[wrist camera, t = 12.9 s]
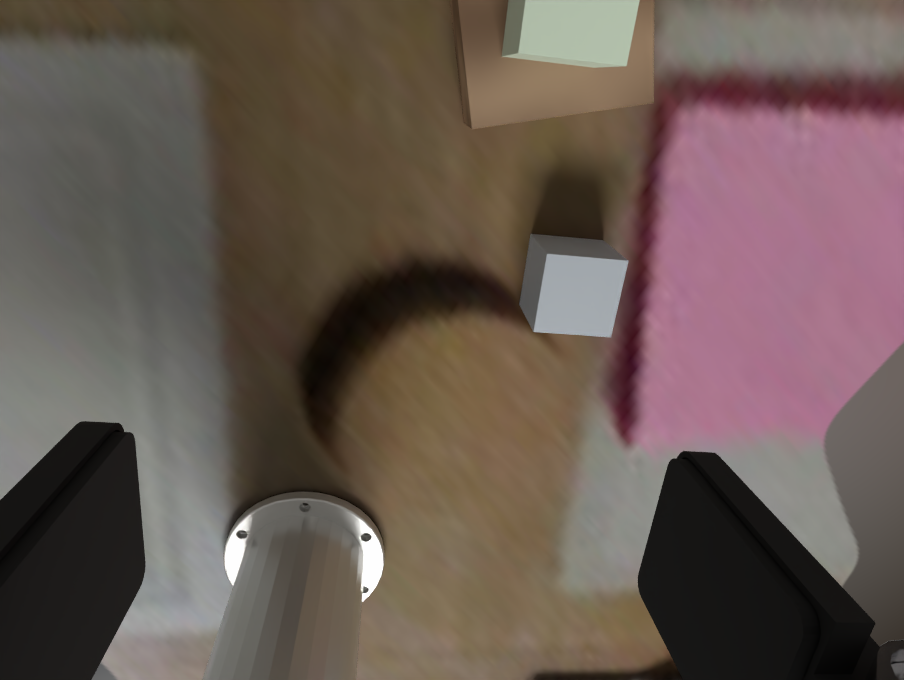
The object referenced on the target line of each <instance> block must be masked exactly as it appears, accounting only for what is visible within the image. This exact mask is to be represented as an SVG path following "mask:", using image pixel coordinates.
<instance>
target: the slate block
mask: <svg viewBox="0 0 904 680" xmlns="http://www.w3.org/2000/svg"><path fill="white" fill-rule="evenodd" d="M627 265H628V260H627V259H626V258H624V257H623V256H622V255H621V254H619V253H618V252H617V251H616V250H615V249H613V248H612V247H611V246H610V245H608V244H607V243H606V242H605V241H604V240H595V239H584V238H573V237H562V236H550V235H539V234H531V235H530V241H529V247H528V253H527V260H526V266H525V272H524V278H523V285H522V291H521V297H520V303H519V305H520V307H521V309H522V310H523V312H524V314H525V316H526V318H527V320H528V322H529V324H530V326H531V328H532V330H533V332H543V333H558V334H572V335H586V336H600V337H611V334H612V330H613V326H614V321H615V317H616V313H617V308H618V304H619V300H620V295H621V291H622V286H623V282H624V278H625V273H626V269H627Z"/></svg>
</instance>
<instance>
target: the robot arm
mask: <svg viewBox="0 0 904 680" xmlns="http://www.w3.org/2000/svg"><path fill="white" fill-rule="evenodd" d="M224 567H225V570H226V574H227V577H228V579H229V581H230V582H231V584H232V586H233V588H232V591H231V594H230V597H229V600H228V603H227V606H226V609H225V612H224V615H223V618H222V621H221V624H220V627H219V630H218V633H217V636H216V639H215V642H214V645H213V648H212V651H211V655H210V658H209V661H208V664H207V667H206V670H205V673H204V676H203V679H202V680H356V675H357V662H358V648H359V635H360V622H361V608H362V602H363V601H364V600H365V599H366V598H367V597H368V596H369V595H370V594H371V593H372V592H373V590H374V589H375V588H376V586H377V585H378V583H379V580H380V578H381V576H382V572H383V567H384V545H383V540H382V537H381V535H380V533H379V531H378V528H377V527H376V526H375V524H374V523H373V522H372V520H371V519H370V518H369V517H368V516H367V515H366V514H365V513H364V512H363V511H361V510H360V509H359V508H357V507H356V506H354V505H352V504H351V503H349V502H347V501H345V500H342V499H340V498H337V497H335V496H331V495H327V494H322V493H317V492H291V493H284V494H280V495H276V496H272V497H270V498H267V499H265V500H263V501H261V502H258V503H257V504H255V505H254V506H252V507H251V508H249V509H248V510H246V511H245V512H244V513H243V514H242V515H241V517H240V518H239V519H238V520H237V521H236V523H235V524H234V526H233V527H232V529H231V531H230V534H229V536H228V539H227V541H226V544H225V550H224ZM144 573H145V553H144V541H143V529H142V517H141V505H140V494H139V482H138V470H137V458H136V446H135V438H134V436H133V434H132V433H131V432H124V429H123V427H122V425H121V424H119V423H106V422H86V421H83V422H79V423H78V424H76V425H75V426H74V427H73V428H72V429H71V430H70V431H69V432H68V433H67V434H66V435H65V436H64V437H63V438H62V439H61V440H60V441H59V442H58V443H57V444H56V445H55V446H54V447H53V448H52V449H51V450H50V451H49V452H48V453H47V454H46V455H45V456H44V457H43V458H42V459H41V460H40V461H39V462H38V463H37V464H36V465H35V466H34V467H33V468H32V469H31V470H30V471H29V472H28V473H27V474H26V475H25V476H24V477H23V478H22V479H21V480H20V481H19V482H18V483H17V484H16V485H15V486H14V487H13V488H12V489H11V490H10V491H9V492H8V493H7V494H6V495H5V496H4V497H3V498H2V499H1V500H0V680H91V679H92V677H93V675H94V674H95V672H96V670H97V668H98V666H99V664H100V662H101V660H102V659H103V657H104V655H105V653H106V651H107V649H108V647H109V645H110V643H111V642H112V640H113V638H114V636H115V634H116V632H117V630H118V628H119V626H120V625H121V623H122V621H123V619H124V617H125V615H126V613H127V611H128V609H129V608H130V606H131V604H132V602H133V600H134V598H135V596H136V594H137V592H138V591H139V589H140V586H141V584H142V581H143V578H144ZM638 588H639V592H640V595H641V598H642V600H643V602H644V604H645V606H646V608H647V609H648V611H649V613H650V615H651V617H652V619H653V621H654V623H655V625H656V627H657V629H658V631H659V633H660V635H661V637H662V639H663V641H664V643H665V645H666V647H667V649H668V651H669V653H670V655H671V657H672V659H673V661H674V663H675V665H676V667H677V669H678V671H679V673H680V674H681V676H682V678H683V680H904V640H894V641H888V642H886V643H884V644H883V645H881V646H880V647H879V646H878V645H877V644H876V642H875V641H874V640H873V639H872V638H871V637H870V634H871V632H872V629H873V627H874V625H875V622H874V621H873V620H872V619H871V618H870V617H869V616H868V615H867V613H865V611H864V610H863V609H862V608H861V607H860V606H859V605H858V604H857V603H856V602H855V601H854V599H853V598H852V597H851V596H850V595H849V594H848V593H847V592H846V591H845V590H844V589H843V588H842V587H841V586H840V585H839V583H838V582H837V581H836V580H835V579H834V578H833V577H832V576H831V575H830V574H829V573H828V572H827V571H826V570H825V569H824V567H823V566H822V565H821V564H820V563H819V562H818V561H817V560H816V559H815V558H814V557H813V556H812V555H811V554H810V553H809V551H808V550H807V549H806V548H805V547H804V546H803V545H802V544H801V543H800V542H799V541H798V540H797V539H796V538H795V537H794V535H793V534H792V533H791V532H790V531H789V530H788V529H787V528H786V527H785V526H784V525H783V524H782V523H781V522H780V521H779V520H778V518H777V517H776V516H775V515H774V514H773V513H772V512H771V511H770V510H769V509H768V508H767V507H766V506H765V505H764V504H763V502H762V501H761V500H760V499H759V498H758V497H757V496H756V495H755V494H754V493H753V492H752V491H751V490H750V489H749V488H748V486H747V485H746V484H745V483H744V482H743V481H742V480H741V479H740V478H739V477H738V476H737V475H736V474H735V473H734V472H733V470H732V469H731V468H730V467H729V466H728V465H727V464H726V463H725V462H724V461H723V460H722V459H721V458H720V457H719V456H718V455H717V454H716V453H710V452H690V451H683V452H681V453H680V454H679V456H678V457H677V459H672V460H671V461H670V462H669V464H668V467H667V470H666V474H665V478H664V482H663V485H662V489H661V493H660V496H659V500H658V504H657V507H656V511H655V515H654V519H653V522H652V526H651V530H650V533H649V537H648V541H647V544H646V548H645V552H644V556H643V559H642V563H641V567H640V570H639V575H638Z"/></svg>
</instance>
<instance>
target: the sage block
mask: <svg viewBox="0 0 904 680" xmlns="http://www.w3.org/2000/svg"><path fill="white" fill-rule="evenodd" d="M639 1H640V0H508V9H507V17H506V25H505V33H504V41H503V49H502V57H509V58H517V59H526V60H534V61H542V62H551V63H559V64H567V65H576V66H584V67H592V68H599V67H620V66H627V61H628V56H629V51H630V46H631V41H632V36H633V31H634V26H635V21H636V16H637V11H638V6H639Z"/></svg>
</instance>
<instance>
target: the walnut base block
mask: <svg viewBox="0 0 904 680" xmlns="http://www.w3.org/2000/svg"><path fill="white" fill-rule="evenodd" d="M450 7H451V15H452V24H453V32H454V41H455V50H456V58H457V67H458V76H459V84H460V93H461V101H462V110H463V119H464V123H465V124H466V125H467V126H469V127H470V128H471V129H477V128H484V127H491V126H498V125H505V124H512V123H519V122H526V121H532V120H539V119H546V118H553V117H560V116H567V115H574V114H581V113H587V112H594V111H601V110H608V109H615V108H622V107H629V106H636V105H642V104H649V103H654V0H640V1H639V6H638V11H637V16H636V21H635V26H634V31H633V36H632V41H631V46H630V51H629V56H628V61H627V66H620V67H599V68H592V67H584V66H576V65H567V64H559V63H551V62H542V61H534V60H526V59H517V58H509V57H502V49H503V41H504V33H505V25H506V17H507V9H508V0H450Z"/></svg>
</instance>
